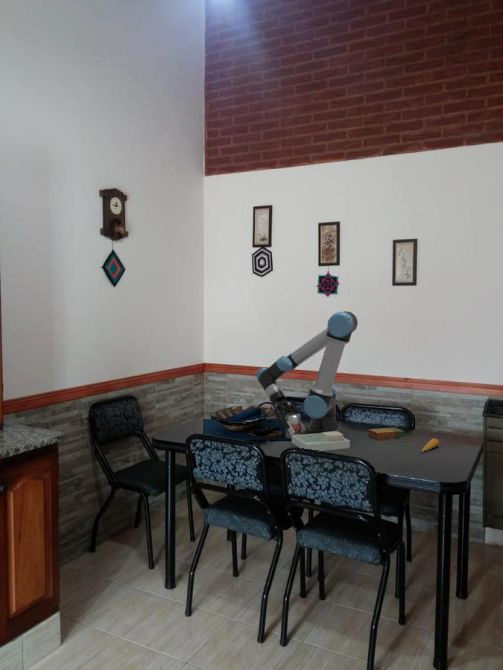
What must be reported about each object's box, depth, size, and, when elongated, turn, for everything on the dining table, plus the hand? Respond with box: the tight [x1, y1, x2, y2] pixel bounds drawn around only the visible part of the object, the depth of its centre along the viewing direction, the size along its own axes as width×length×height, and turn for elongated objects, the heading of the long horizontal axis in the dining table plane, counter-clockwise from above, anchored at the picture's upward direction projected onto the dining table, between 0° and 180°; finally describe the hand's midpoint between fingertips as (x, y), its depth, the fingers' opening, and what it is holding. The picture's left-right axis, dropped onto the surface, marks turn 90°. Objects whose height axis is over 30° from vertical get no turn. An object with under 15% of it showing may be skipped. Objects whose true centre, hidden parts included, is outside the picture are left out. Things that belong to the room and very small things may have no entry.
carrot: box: [421, 438, 440, 451], centre depth 257 cm, size 20×4×4 cm, turn 139°
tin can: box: [285, 413, 302, 440], centre depth 272 cm, size 7×7×12 cm
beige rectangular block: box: [322, 430, 344, 443], centre depth 258 cm, size 8×6×6 cm
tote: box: [291, 433, 351, 452], centre depth 258 cm, size 22×16×4 cm
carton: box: [367, 427, 405, 441], centre depth 279 cm, size 8×16×4 cm, turn 112°
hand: (298, 432), depth 269 cm, fingers closed on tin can, 7 cm apart
